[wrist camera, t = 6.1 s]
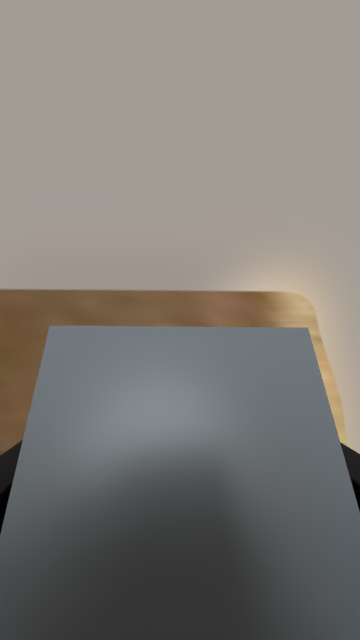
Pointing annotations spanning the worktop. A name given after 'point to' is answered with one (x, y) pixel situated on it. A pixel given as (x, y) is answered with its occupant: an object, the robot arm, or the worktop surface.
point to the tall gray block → (180, 492)
